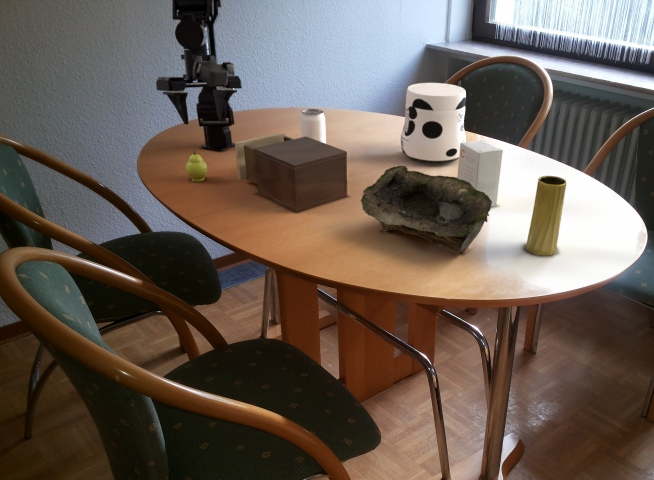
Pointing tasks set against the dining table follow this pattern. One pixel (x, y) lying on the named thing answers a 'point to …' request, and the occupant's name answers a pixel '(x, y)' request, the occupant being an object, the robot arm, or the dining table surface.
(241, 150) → the drawer
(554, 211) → the vase
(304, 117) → the can
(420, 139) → the milk container
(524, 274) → the dining table surface
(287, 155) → the cabinet
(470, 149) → the small box
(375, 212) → the grey rough hollow block
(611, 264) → the dining table surface
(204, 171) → the pear
